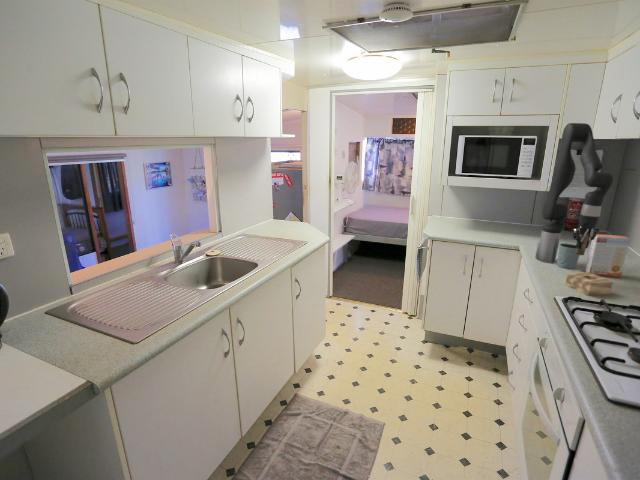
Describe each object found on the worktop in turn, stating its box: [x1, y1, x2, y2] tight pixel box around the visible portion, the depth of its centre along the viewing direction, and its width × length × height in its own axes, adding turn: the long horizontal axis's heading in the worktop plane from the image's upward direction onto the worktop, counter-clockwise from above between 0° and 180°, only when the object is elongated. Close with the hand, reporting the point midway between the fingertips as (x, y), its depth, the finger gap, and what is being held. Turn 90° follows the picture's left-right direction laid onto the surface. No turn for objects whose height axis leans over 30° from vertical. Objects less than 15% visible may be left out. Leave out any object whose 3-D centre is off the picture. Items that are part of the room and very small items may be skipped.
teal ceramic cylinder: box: [556, 243, 580, 270], centre depth 196 cm, size 10×10×12 cm
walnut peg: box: [576, 234, 589, 256], centre depth 177 cm, size 3×3×11 cm
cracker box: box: [584, 233, 631, 279], centre depth 184 cm, size 14×6×21 cm, turn 73°
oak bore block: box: [564, 271, 614, 297], centre depth 167 cm, size 12×12×6 cm
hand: (581, 248), depth 177 cm, fingers closed on walnut peg, 3 cm apart
